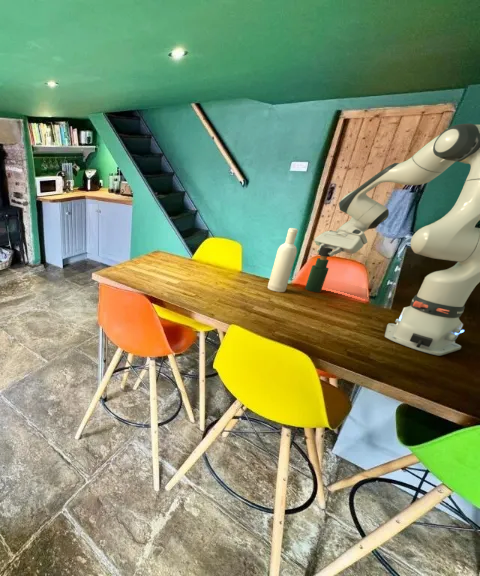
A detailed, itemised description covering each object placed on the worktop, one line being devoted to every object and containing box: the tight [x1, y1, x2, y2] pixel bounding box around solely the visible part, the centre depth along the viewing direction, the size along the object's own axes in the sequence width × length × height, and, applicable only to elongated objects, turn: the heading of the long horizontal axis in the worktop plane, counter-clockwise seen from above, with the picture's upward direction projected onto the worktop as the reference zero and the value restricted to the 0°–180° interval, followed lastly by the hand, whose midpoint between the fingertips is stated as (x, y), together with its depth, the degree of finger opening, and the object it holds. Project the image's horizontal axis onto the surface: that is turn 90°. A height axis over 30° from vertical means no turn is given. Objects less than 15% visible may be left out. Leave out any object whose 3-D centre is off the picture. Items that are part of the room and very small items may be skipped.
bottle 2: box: [304, 257, 329, 293], centre depth 148 cm, size 7×7×16 cm
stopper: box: [318, 247, 334, 260], centre depth 145 cm, size 5×5×8 cm
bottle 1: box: [267, 227, 299, 293], centre depth 143 cm, size 8×8×30 cm
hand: (323, 253), depth 144 cm, fingers closed on stopper, 5 cm apart
